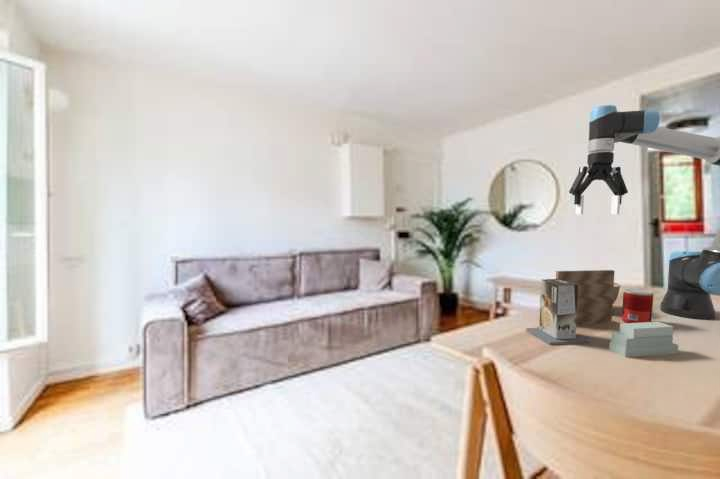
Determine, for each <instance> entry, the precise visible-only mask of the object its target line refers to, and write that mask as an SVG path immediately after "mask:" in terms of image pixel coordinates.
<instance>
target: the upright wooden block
mask: <svg viewBox="0 0 720 479" xmlns="http://www.w3.org/2000/svg"><path fill="white" fill-rule="evenodd" d="M555 279H560V280H564V281H567V282H570V283H574V284H577V285H578V299H577V321H576V325H592V324H593V325H594V324H595V325H598V324H599V325H600V324H612V319H613V318H612V317H613V305H614V303H613V288H614V282H615V270H614V269H599V270H598V269H597V270H596V269H594V270H591V269H590V270H589V269H588V270H555ZM612 304H613V305H612Z"/></svg>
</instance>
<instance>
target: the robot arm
mask: <svg viewBox="0 0 720 479" xmlns="http://www.w3.org/2000/svg"><path fill="white" fill-rule="evenodd" d="M589 115H590V116H589V120H588V123H589V125H588V126H589V128H588V144H587V146H588V147H587V153H588V155H587V161H586V162H587V165H588V166H586V165H585V166H580V167H579V168H578V173H577V175H576V176H575V180H574V181H573V183H572V185H571V187H570V189H569V190H568V192H569V194H571V195H572V196H573V197H574V205H575V215H584V203H585V201H584V199H585V195H583V193H584V192H585V191H586V190H587V189H588V188H589V186H590V185H591V184H592V182H593V181H603V182H605V184H607V186H608V188H609V189H610V191H611V192H612V193H613V195H612V196H611V207H610V208H611V209H610V214H611V215H620V207H621V206H620V205H621V204H622V199H623V197H622V196H625V194H628V193H629V191H628V188H627V186H626V183H625V180H624V178H623V175H622V172H621V171H622V170H621V167H620V166H615V167H613V166H612V165H613V163H614V159H615V158H614V156H615V153H614V152H613V151H614V150H615V143H616V144H617V143H624V144H630V145H634V146H638V147H645V148H649V149H652V150H658V151H663V152H667V153H673V154H678V155H682V156H687V157H690V158H691V157H692V158H697V159H700V160H705V163H707V164H709V165H713V166H714V165H715V166H717V167H718V166H719V167H720V137H718V138H717V137H714V136H713V137H712V136H706V135H703V134H698V133H693V132H687V131H683V130H676V129H671V128H667V127H661V126H659V124H660V121H661V120H660V113H659V112H658V111H657V110H655V109H644V110H643V109H642V110H631V111H630V110H629V111H618V109H617V106H616V105H614V104H612V105H611V104H606V105H604V104H603V105H599V106H595V107H593V108H592V109H591V111H590V112H589ZM668 264H669V265H668V277H667V278H668V279H667V289H666V292H665V294H664V297H663V298H662V301H661V302H660V305H659V310H660V311H661V312H663V313H665V314H668V315H673V316H677V317H683V318H690V319H696V320H697V319H698V320H712V319H716V309H715V308H714V303H713V300H712V298H711V295H714V296H720V227H719V228H718V231H717V233H716V234H715V237H714V239H713V241H712V243H711V245H710V246H707V247H704V248H703V249H702V251H673V252H671V253H670V255H669V260H668Z"/></svg>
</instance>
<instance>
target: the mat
mask: <svg viewBox="0 0 720 479" xmlns="http://www.w3.org/2000/svg"><path fill="white" fill-rule="evenodd" d="M526 330H527V332H528V333H529V332H530V333H529V334H531V335H532V336H534V335H535V336H534V337H536V338H537V339H539V340H540V341H543V342H544V343H546V344H548V345H549V346H552V345H553V346H554V345H555V346H556V345H557V346H558V345H577V344H578V345H579V344H581V345H582V344H589V343H590V340H589V339H587V338H585V337H583V336H580V335H579V334H577V333H576V338H575V339H555V338H554V337H552V336H550V335H548V334H546V333H545V332H543V331H541V330H539V327H526V328H525V331H526Z"/></svg>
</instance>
